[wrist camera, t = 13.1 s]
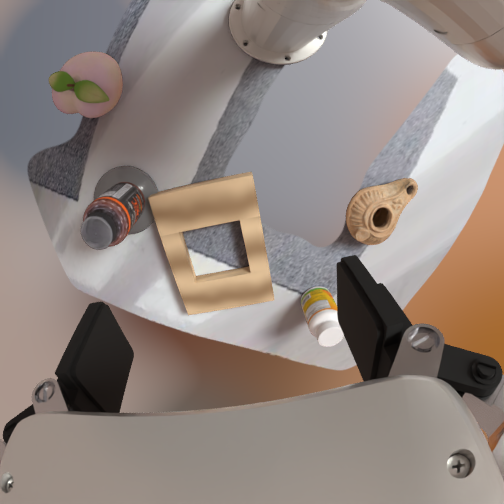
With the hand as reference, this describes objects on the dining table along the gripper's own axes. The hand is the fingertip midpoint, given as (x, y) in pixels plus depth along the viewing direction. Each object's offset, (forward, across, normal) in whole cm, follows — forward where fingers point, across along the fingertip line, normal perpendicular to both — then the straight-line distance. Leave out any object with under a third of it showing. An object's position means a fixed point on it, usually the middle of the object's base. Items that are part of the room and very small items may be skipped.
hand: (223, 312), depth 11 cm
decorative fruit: (+31, +14, -15) cm, 37 cm away
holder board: (+30, +4, +12) cm, 33 cm away
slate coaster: (+30, +15, +2) cm, 34 cm away
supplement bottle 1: (+30, +15, +2) cm, 33 cm away
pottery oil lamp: (+31, -21, +10) cm, 38 cm away
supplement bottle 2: (+31, -10, +25) cm, 41 cm away
